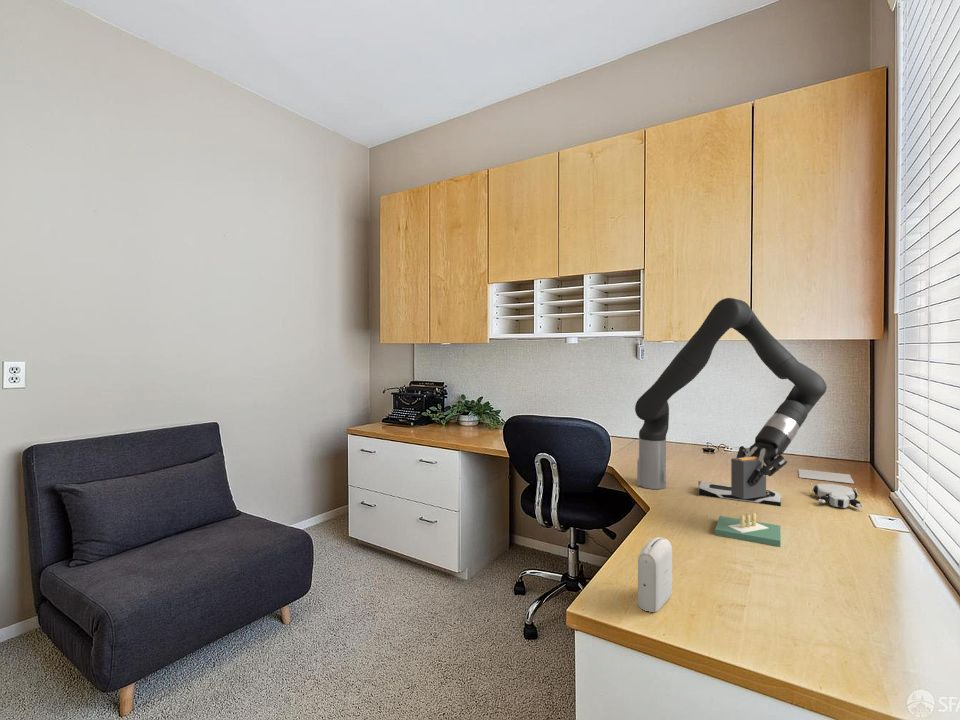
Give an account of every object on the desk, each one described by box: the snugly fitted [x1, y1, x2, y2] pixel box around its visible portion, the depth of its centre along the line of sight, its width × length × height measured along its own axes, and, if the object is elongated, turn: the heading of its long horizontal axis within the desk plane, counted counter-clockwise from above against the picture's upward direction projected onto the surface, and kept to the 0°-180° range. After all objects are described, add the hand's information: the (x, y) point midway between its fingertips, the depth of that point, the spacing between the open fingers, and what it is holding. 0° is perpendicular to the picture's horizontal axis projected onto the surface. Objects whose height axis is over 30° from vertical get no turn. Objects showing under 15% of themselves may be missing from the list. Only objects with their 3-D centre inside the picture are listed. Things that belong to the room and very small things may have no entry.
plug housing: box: [730, 456, 767, 499], centre depth 131 cm, size 8×4×10 cm, turn 108°
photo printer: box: [637, 536, 673, 613], centre depth 98 cm, size 10×4×12 cm, turn 140°
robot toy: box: [810, 482, 864, 509], centre depth 156 cm, size 12×4×15 cm
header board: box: [714, 512, 781, 548], centre depth 132 cm, size 15×12×5 cm
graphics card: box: [697, 480, 782, 507], centre depth 162 cm, size 10×3×25 cm
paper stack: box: [797, 468, 855, 484], centre depth 184 cm, size 23×25×1 cm
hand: (743, 481), depth 131 cm, fingers closed on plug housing, 4 cm apart
